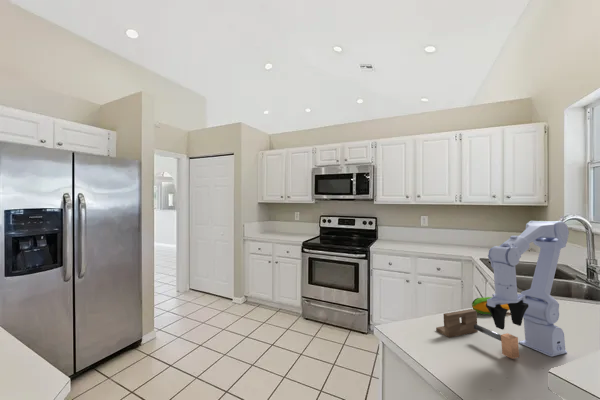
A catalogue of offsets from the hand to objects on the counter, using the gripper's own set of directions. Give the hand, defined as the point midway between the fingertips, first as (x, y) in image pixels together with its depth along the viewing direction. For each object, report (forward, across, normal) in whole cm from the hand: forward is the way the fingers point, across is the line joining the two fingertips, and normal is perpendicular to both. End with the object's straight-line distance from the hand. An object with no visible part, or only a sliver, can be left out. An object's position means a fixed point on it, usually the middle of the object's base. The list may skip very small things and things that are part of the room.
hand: (508, 326), depth 82 cm
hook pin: (+8, +1, -4) cm, 10 cm away
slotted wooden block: (+9, +1, -19) cm, 21 cm away
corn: (+10, -30, -27) cm, 42 cm away
